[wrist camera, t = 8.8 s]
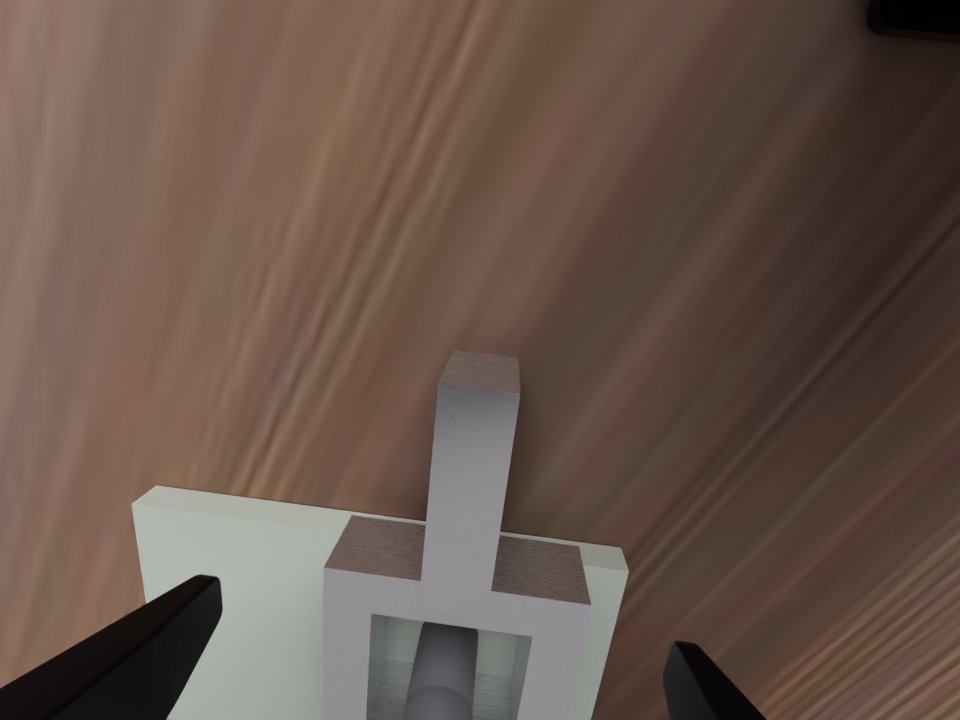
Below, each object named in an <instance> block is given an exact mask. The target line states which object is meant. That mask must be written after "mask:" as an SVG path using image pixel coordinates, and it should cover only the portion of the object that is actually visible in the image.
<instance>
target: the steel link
mask: <svg viewBox="0 0 960 720" xmlns="http://www.w3.org/2000/svg"><path fill="white" fill-rule="evenodd" d="M519 400H520V376H519V359H518V357H511V356H503V355H495V354H487V353H479V352H471V351H463V350H455V349H453V351H452V354H451V356H450V358H449V360H448V363H447V365H446V367H445V369H444V372H443V374H442V376H441V378H440V381H439V383H438V394H437V405H436V416H435V427H434V439H433V450H432V461H431V472H430V484H429V495H428V506H427V517H426V525H420V524H413V523H406V522H399V521H391V520H384V519H377V518H370V517H362V516H355V515H352V516H351V518H350V519H349V521H348V523H347V525H346V527H345V529H344V531H343V532H342V534H341V536H340V538H339V540H338V542H337V544H336V545H335V547H334V549H333V551H332V553H331V555H330V556H329V558H328V560H327V562H326V564H325V566H324V581H323V720H404V706H405V701H406V697H407V692H408V687H409V683H410V678H411V674H412V669H413V665H414V663H408V662H401V661H394V660H387V659H385V655H386V639H387V623H388V616H392V617H399V618H406V619H412V620H419V621H426V622H433V623H440V624H447V625H454V626H461V627H468V628H475V629H482V630H489V631H496V632H503V633H510V634H517V635H519V637H518V642H517V648H516V654H515V659H514V665H513V670H512V676H511V678H510V677H503V676H497V675H490V674H483V673H475V686H474V699H473V712H472V720H564V718H565V714H566V710H567V706H568V701H569V697H570V693H571V689H572V684H573V680H574V676H575V672H576V668H577V663H578V659H579V655H580V651H581V646H582V642H583V638H584V634H585V630H586V625H587V621H588V617H589V613H590V608H591V601H590V597H589V592H588V587H587V583H586V578H585V573H584V568H583V564H582V559H581V554H580V549H579V546H573V545H566V544H559V543H552V542H544V541H537V540H530V539H522V538H515V537H508V536H501V535H499V534H500V528H501V521H502V514H503V508H504V501H505V494H506V487H507V481H508V474H509V467H510V461H511V454H512V447H513V440H514V434H515V427H516V420H517V414H518V407H519Z"/></svg>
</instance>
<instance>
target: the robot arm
mask: <svg viewBox="0 0 960 720" xmlns="http://www.w3.org/2000/svg"><path fill="white" fill-rule="evenodd" d="M893 1H896V2H897V4H898V6H899V12H898V15H897V16H896V17H895V16H893V15H892V14H891V12H890V3H891V2H892V0H871V2H870V5H869V8H868V13H867V22H868V26H869V28H870V29H871V30H872V31H873V32H874V33H876V34H879V35H886V36H896V37H906V38H917V39H927V40H937V41H947V42H957V43H960V0H893ZM222 611H223V604H222V592H221V582H220V579H219V578H218V577H216V576H210V575H203V574H199V575H196V576H193V577H192V578H190V579H188V580H186V581H185V582H183V583H181V584H179V585H178V586H176V587H174V588H173V589H171V590H169V591H167V592H166V593H164V594H162V595H160V596H159V597H157V598H155V599H154V600H152V601H150V602H148V603H147V604H145V605H143V606H141V607H140V608H138V609H136V610H135V611H133V612H131V613H129V614H128V615H126V616H124V617H123V618H121V619H119V620H117V621H116V622H114V623H112V624H110V625H109V626H107V627H105V628H104V629H102V630H100V631H98V632H97V633H95V634H93V635H91V636H90V637H88V638H86V639H85V640H83V641H81V642H79V643H78V644H76V645H74V646H72V647H71V648H69V649H67V650H66V651H64V652H62V653H60V654H59V655H57V656H55V657H54V658H52V659H50V660H48V661H47V662H45V663H43V664H41V665H40V666H38V667H36V668H35V669H33V670H31V671H29V672H28V673H26V674H24V675H22V676H21V677H19V678H17V679H16V680H14V681H12V682H10V683H9V684H7V685H5V686H3V687H2V688H0V720H166V719H167V717H168V716H169V714H170V713H171V711H172V709H173V708H174V706H175V704H176V702H177V701H178V699H179V697H180V695H181V693H182V692H183V690H184V688H185V686H186V684H187V682H188V680H189V678H190V676H191V674H192V673H193V671H194V669H195V667H196V665H197V663H198V661H199V659H200V657H201V655H202V654H203V652H204V650H205V648H206V646H207V644H208V642H209V640H210V638H211V636H212V635H213V633H214V631H215V629H216V627H217V625H218V623H219V621H220V618H221V615H222ZM663 685H664V691H665V696H666V701H667V706H668V711H669V717H670V720H767V719H766V718H765V717H764V716H763V715H762V714H761V713H760V712H759V711H758V710H757V709H756V707H755V706H754V705H753V704H752V703H751V702H750V701H749V700H748V699H747V698H746V697H745V696H744V694H743V693H742V692H741V691H740V690H739V689H738V688H737V687H736V686H735V685H734V684H733V683H732V681H731V680H730V679H729V678H728V677H727V676H726V675H725V674H724V673H723V672H722V671H721V670H720V668H719V667H718V666H717V665H716V664H715V663H714V662H713V661H712V660H711V659H710V658H709V657H708V656H707V654H706V653H705V652H704V651H703V650H702V649H701V648H700V647H699V646H698V645H696V644H695V643H691V642H684V641H674V642H673V643H672V645H671V648H670V651H669V654H668V657H667V661H666V664H665V667H664V671H663Z"/></svg>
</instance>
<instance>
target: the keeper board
mask: <svg viewBox="0 0 960 720" xmlns="http://www.w3.org/2000/svg"><path fill="white" fill-rule="evenodd" d="M132 511H133V518H134V525H135V531H136V538H137V545H138V552H139V558H140V565H141V572H142V578H143V585H144V592H145V599H146V604H147V603H148V602H150V601H152V600H154V599H155V598H157V597H159V596H160V595H162V594H164V593H166V592H167V591H169V590H171V589H173V588H174V587H176V586H178V585H179V584H181V583H183V582H185V581H186V580H188V579H190V578H192V577H193V576H196V575H199V574H203V575H210V576H216V577H218V578H219V579H220V582H221V592H222V604H223V611H222V615H221V618H220V621H219V623H218V625H217V627H216V629H215V631H214V633H213V635H212V636H211V638H210V640H209V642H208V644H207V646H206V648H205V650H204V652H203V654H202V655H201V657H200V659H199V661H198V663H197V665H196V667H195V669H194V671H193V673H192V674H191V676H190V678H189V680H188V682H187V684H186V686H185V688H184V690H183V692H182V693H181V695H180V697H179V699H178V701H177V702H176V704H175V706H174V708H173V709H172V711H171V713H170V714H169V716H168V717H167V719H169V720H323V581H324V566H325V564H326V562H327V560H328V558H329V556H330V555H331V553H332V551H333V549H334V547H335V545H336V544H337V542H338V540H339V538H340V536H341V534H342V532H343V531H344V529H345V527H346V525H347V523H348V521H349V519H350V518H351V516H352V515H355V516H362V517H370V518H377V519H384V520H391V521H399V522H406V523H413V524H420V525H426V521H418V520H411V519H403V518H396V517H388V516H381V515H373V514H366V513H358V512H351V511H344V510H336V509H329V508H321V507H314V506H306V505H299V504H291V503H284V502H276V501H269V500H262V499H254V498H247V497H239V496H232V495H224V494H217V493H209V492H202V491H194V490H187V489H179V488H172V487H165V486H157V485H156V486H155V487H154V488H152V489H151V490H150V491H148V492H147V493H146V494H144V495H143V496H142V497H140V498H139V499H137V500H136V501H135V502H133V503H132ZM499 535H501V536H508V537H515V538H522V539H530V540H537V541H544V542H552V543H559V544H566V545H573V546H579V549H580V554H581V559H582V564H583V568H584V573H585V578H586V583H587V587H588V592H589V597H590V601H591V608H590V613H589V617H588V621H587V625H586V630H585V634H584V638H583V642H582V646H581V651H580V655H579V659H578V663H577V668H576V672H575V676H574V680H573V684H572V689H571V693H570V697H569V701H568V706H567V710H566V714H565V718H564V720H591V717H592V713H593V709H594V706H595V702H596V698H597V694H598V690H599V686H600V682H601V678H602V674H603V670H604V667H605V663H606V659H607V655H608V651H609V647H610V643H611V639H612V635H613V632H614V628H615V624H616V620H617V616H618V612H619V608H620V604H621V600H622V597H623V593H624V589H625V585H626V581H627V577H628V573H629V570H628V567H627V564H626V561H625V558H624V555H623V552H622V549H621V548H620V547H612V546H605V545H597V544H590V543H582V542H575V541H567V540H560V539H552V538H545V537H537V536H530V535H523V534H515V533H508V532H500V534H499ZM518 637H519V635H517V634H510V633H503V632H496V631H489V630H482V629H475V628H468V627H461V626H454V625H447V624H440V623H433V622H426V621H419V620H412V619H406V618H399V617H392V616H388V623H387V639H386V655H385V659H387V660H394V661H401V662H408V663H414V665H413V669H412V674H411V678H410V683H409V687H408V692H407V697H406V701H405V706H404V720H472V712H473V699H474V686H475V673H483V674H490V675H497V676H503V677H510V678H511V676H512V670H513V665H514V659H515V654H516V648H517V642H518Z"/></svg>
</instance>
